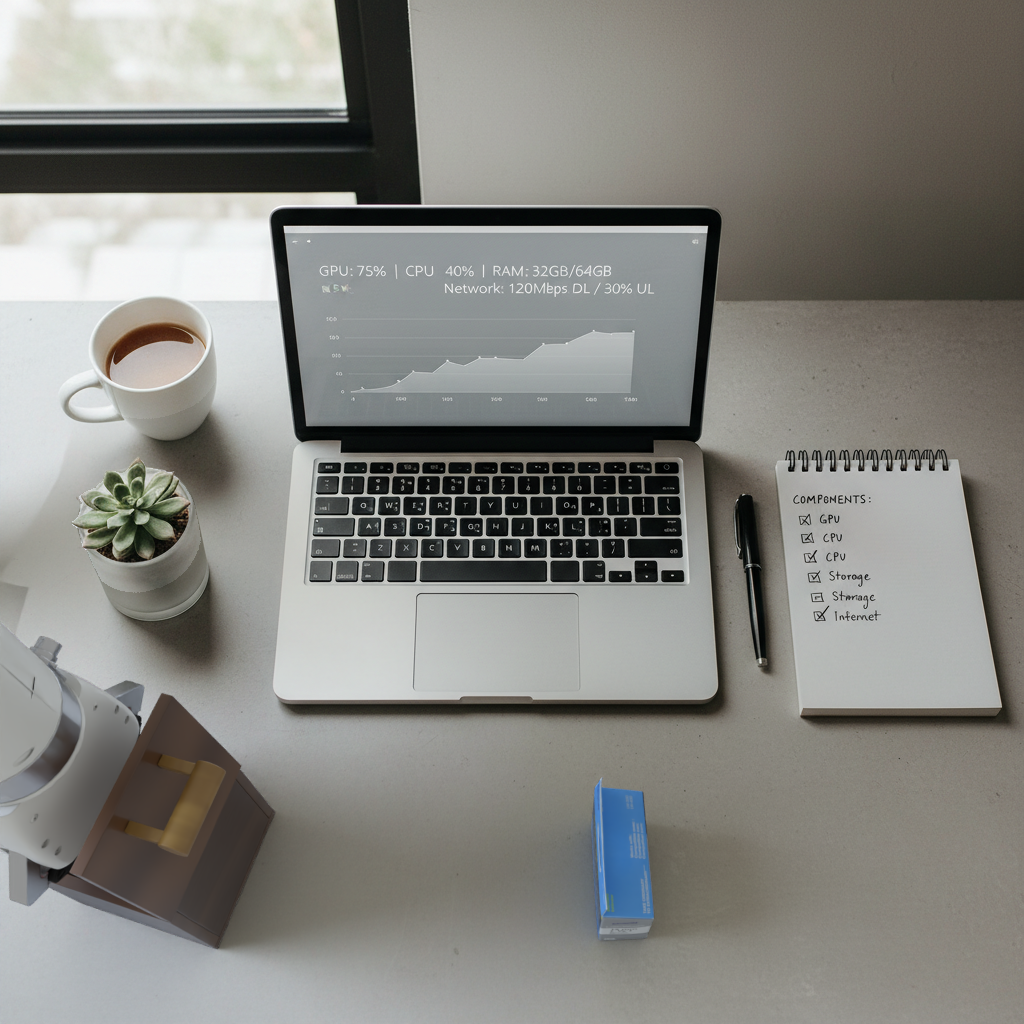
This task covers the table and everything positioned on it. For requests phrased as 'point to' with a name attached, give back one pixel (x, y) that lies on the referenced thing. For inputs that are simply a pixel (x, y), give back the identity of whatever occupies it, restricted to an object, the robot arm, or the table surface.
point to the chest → (200, 873)
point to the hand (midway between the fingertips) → (120, 816)
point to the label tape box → (621, 864)
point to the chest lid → (159, 812)
